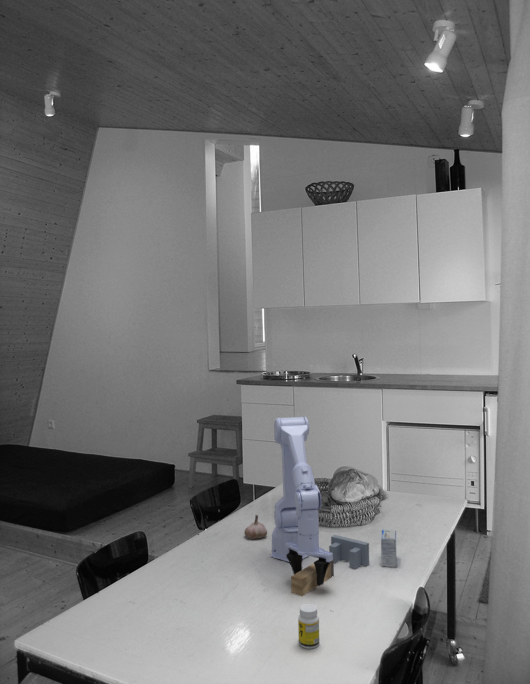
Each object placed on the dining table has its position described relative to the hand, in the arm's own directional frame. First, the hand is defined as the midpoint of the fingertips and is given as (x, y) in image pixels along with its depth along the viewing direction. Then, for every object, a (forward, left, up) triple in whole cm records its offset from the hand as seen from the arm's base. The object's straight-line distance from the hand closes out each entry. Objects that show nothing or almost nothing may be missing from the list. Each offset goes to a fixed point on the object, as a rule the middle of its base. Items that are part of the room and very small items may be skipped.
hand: (309, 581), depth 173 cm
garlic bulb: (-36, +21, -2) cm, 42 cm away
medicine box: (+10, +28, -2) cm, 30 cm away
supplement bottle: (+17, -25, -2) cm, 30 cm away
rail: (0, +2, -2) cm, 2 cm away
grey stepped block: (0, +21, -1) cm, 21 cm away
